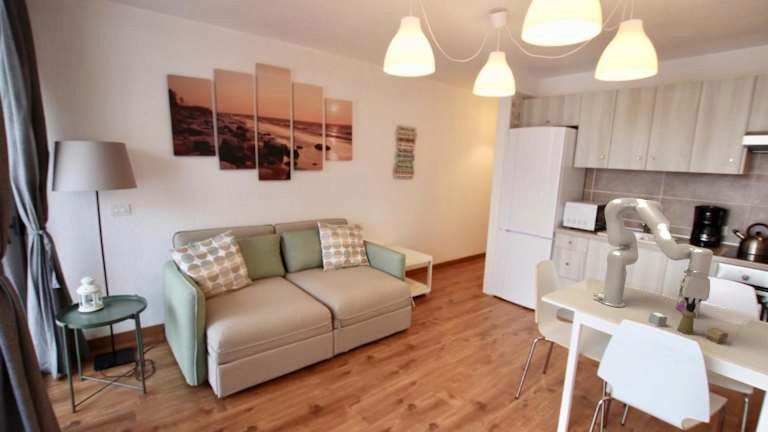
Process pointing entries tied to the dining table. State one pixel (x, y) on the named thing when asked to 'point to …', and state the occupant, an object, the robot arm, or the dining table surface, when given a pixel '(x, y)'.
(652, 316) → the slate grey block
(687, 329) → the cork
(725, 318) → the dining table surface
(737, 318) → the dining table surface
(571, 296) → the dining table surface
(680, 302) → the candy bar box
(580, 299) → the dining table surface
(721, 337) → the light brown cube
